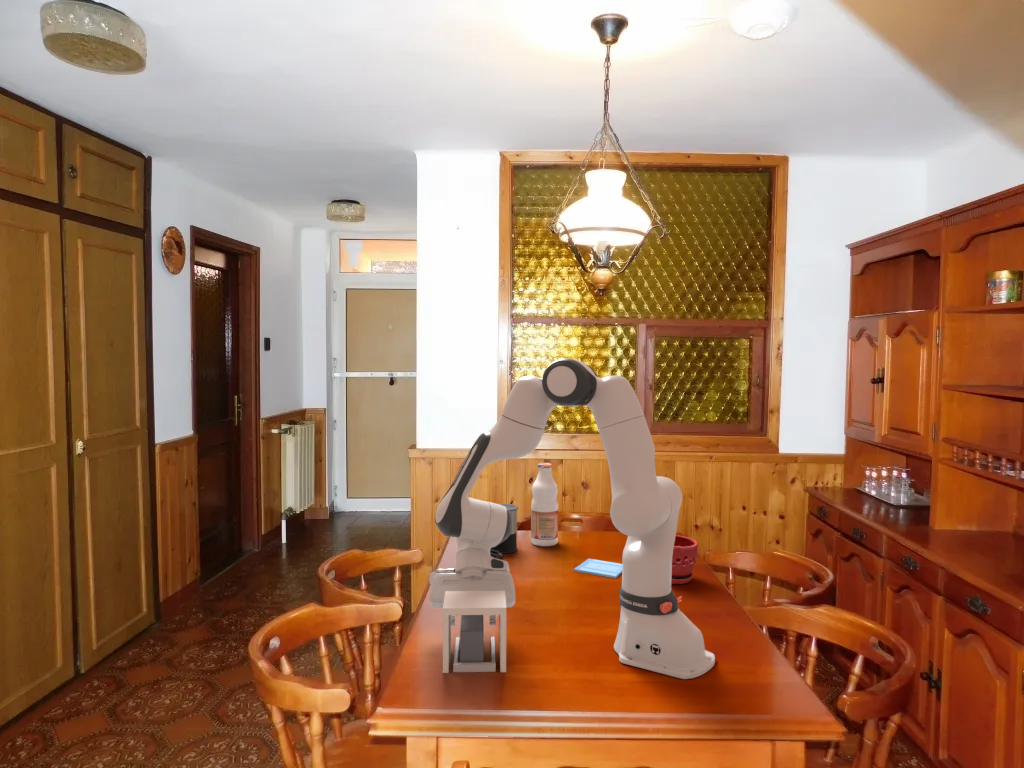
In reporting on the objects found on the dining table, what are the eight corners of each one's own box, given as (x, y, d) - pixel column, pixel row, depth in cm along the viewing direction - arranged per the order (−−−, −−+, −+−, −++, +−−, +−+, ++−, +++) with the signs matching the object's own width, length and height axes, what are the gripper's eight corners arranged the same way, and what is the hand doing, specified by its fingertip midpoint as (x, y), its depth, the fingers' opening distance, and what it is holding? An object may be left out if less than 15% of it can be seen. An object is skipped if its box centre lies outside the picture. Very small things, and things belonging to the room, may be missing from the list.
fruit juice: (525, 542, 241) (525, 463, 239) (543, 537, 247) (544, 460, 246) (545, 548, 234) (545, 467, 232) (563, 543, 240) (564, 464, 239)
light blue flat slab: (628, 568, 215) (628, 564, 215) (615, 580, 204) (615, 575, 204) (588, 562, 221) (588, 558, 221) (574, 572, 211) (574, 568, 211)
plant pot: (666, 589, 196) (667, 547, 195) (643, 574, 208) (644, 535, 207) (705, 584, 200) (706, 543, 199) (680, 570, 212) (681, 532, 212)
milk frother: (514, 544, 238) (514, 502, 237) (526, 558, 223) (526, 513, 222) (473, 547, 235) (473, 504, 234) (483, 561, 219) (483, 516, 219)
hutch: (446, 640, 161) (446, 582, 160) (503, 639, 161) (504, 581, 161) (442, 673, 145) (442, 608, 144) (506, 672, 146) (506, 607, 145)
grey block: (461, 642, 160) (461, 608, 160) (483, 641, 160) (483, 608, 160) (460, 668, 147) (460, 632, 147) (483, 668, 147) (483, 631, 147)
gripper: (429, 562, 163) (425, 619, 154) (514, 562, 164) (516, 618, 155) (430, 575, 168) (427, 630, 159) (513, 574, 169) (515, 629, 160)
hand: (472, 624), depth 157 cm, fingers open, 8 cm apart
